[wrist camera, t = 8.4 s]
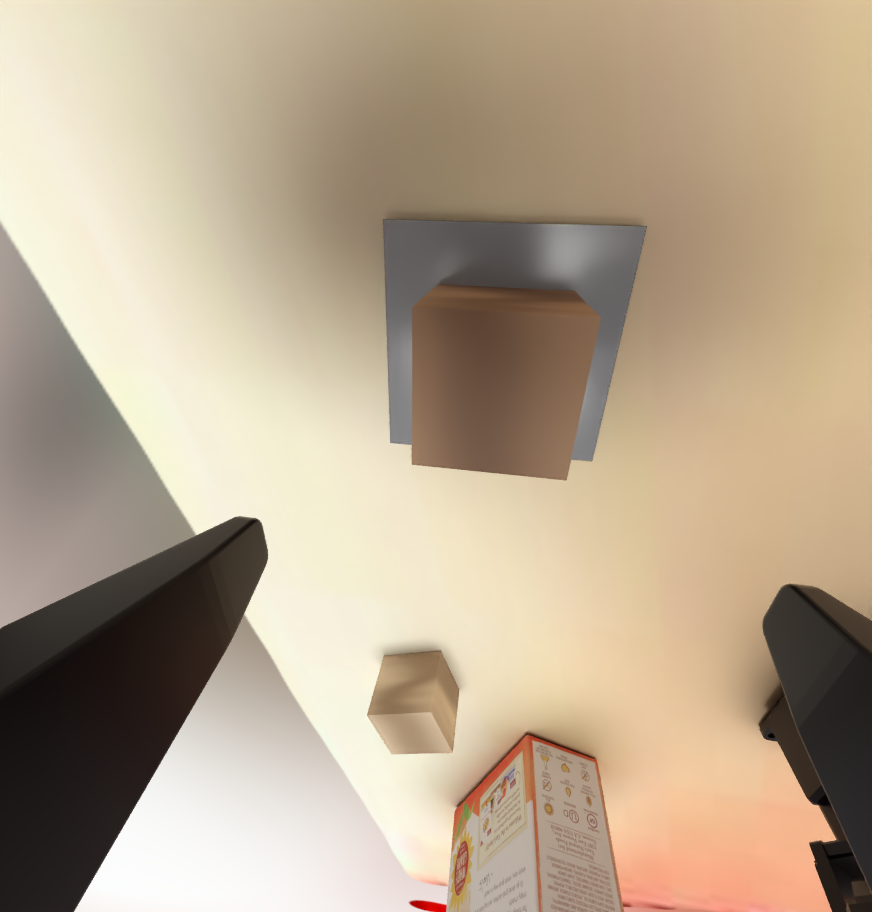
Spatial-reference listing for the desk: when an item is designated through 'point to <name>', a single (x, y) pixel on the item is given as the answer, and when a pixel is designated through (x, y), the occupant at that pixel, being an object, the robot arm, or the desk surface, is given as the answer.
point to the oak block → (415, 704)
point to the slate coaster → (513, 266)
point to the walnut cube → (499, 378)
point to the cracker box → (535, 837)
